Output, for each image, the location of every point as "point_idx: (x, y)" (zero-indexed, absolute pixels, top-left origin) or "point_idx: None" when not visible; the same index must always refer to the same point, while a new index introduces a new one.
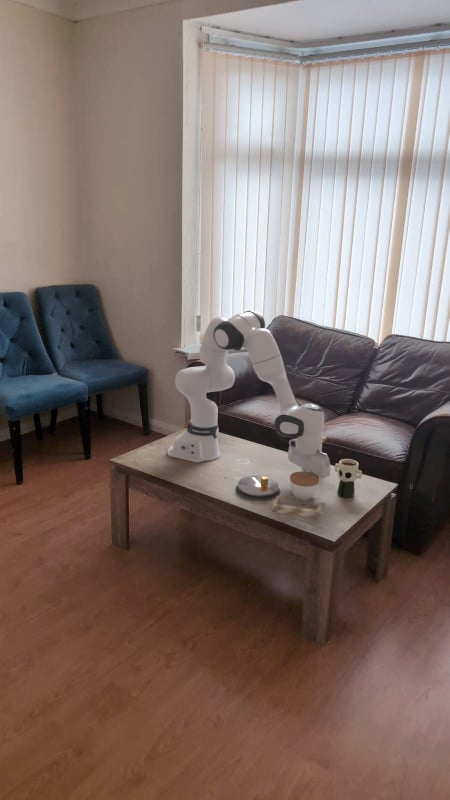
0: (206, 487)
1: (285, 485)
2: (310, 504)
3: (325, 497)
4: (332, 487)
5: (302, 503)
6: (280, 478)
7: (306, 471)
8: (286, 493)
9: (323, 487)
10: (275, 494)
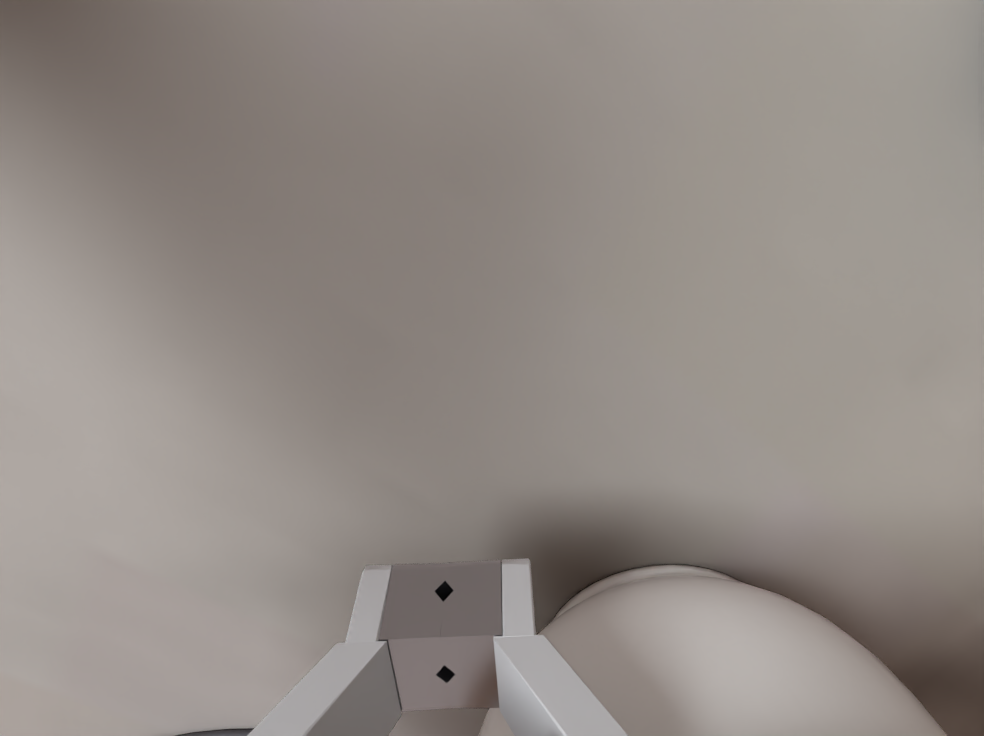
0: None
1: (269, 651)
2: None
3: (901, 436)
4: (724, 19)
5: None
6: (21, 599)
7: (335, 726)
8: None
9: (605, 215)
10: None
